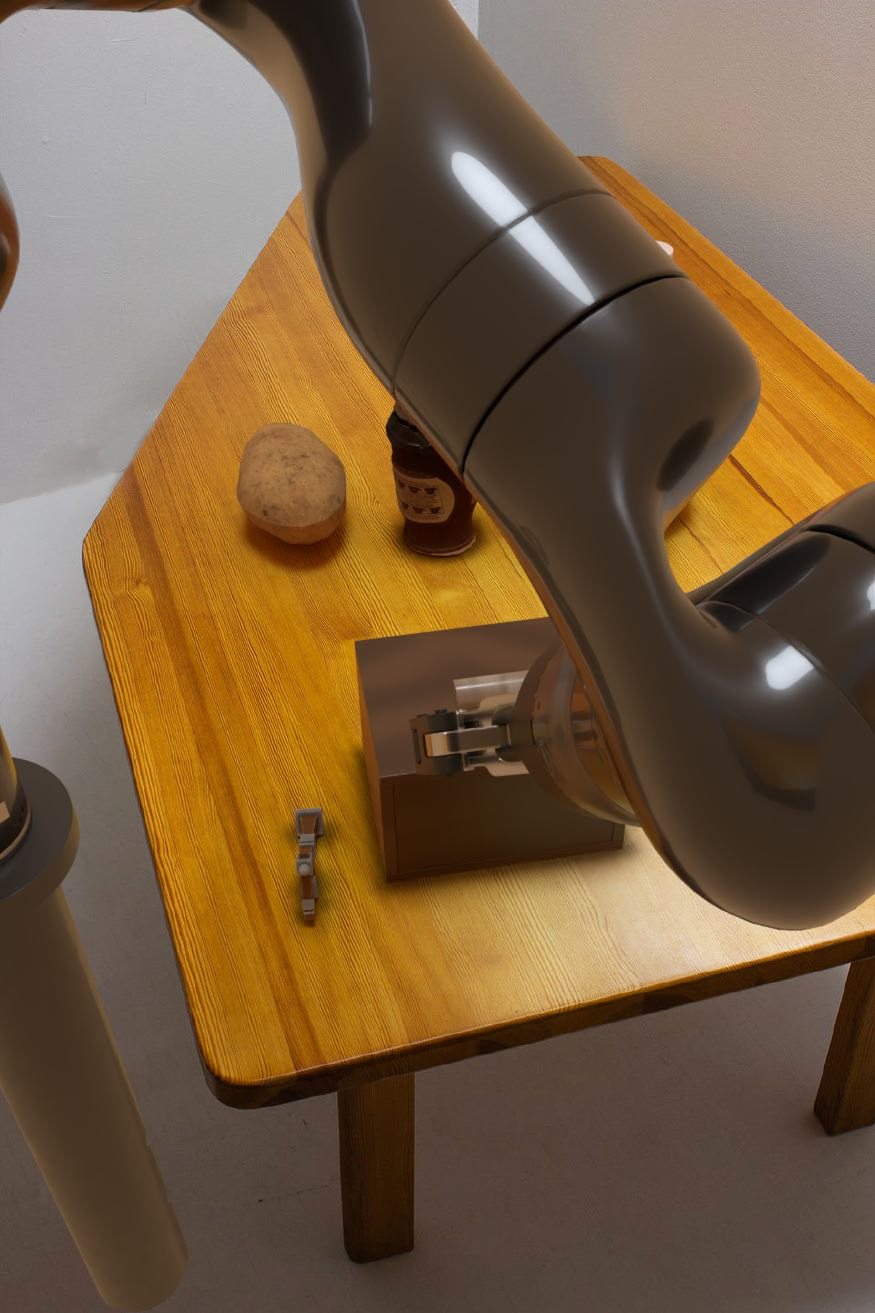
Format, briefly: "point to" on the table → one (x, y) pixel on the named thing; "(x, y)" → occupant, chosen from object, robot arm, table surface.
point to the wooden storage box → (473, 821)
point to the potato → (291, 484)
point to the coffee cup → (428, 492)
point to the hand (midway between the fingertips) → (548, 728)
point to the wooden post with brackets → (308, 855)
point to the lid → (440, 681)
